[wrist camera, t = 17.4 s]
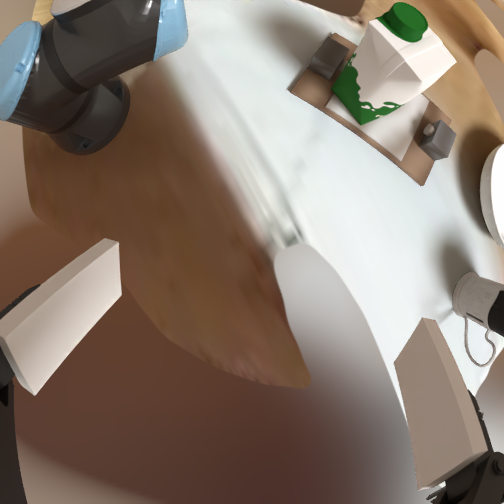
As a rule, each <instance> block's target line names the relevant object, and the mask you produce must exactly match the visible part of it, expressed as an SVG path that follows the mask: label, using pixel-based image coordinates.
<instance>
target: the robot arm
mask: <svg viewBox="0 0 504 504" xmlns="http://www.w3.org/2000/svg"><path fill="white" fill-rule="evenodd" d="M50 12H51V14H52V15H53V17H54V19H52V20H51V21H49V22H48V23H46V24H45V25H43V26H41V24H40V23H39V22H38V21H36V22H35V21H26V22H24V23H22V24H20V25H19V26H18V27H16V28H15V29H14V30H13V31H12V32H11V33H10V34H9V35H8V36H7V38H6V39H5V40H4V41H3V42H2V44H1V45H0V120H1V121H8V122H11V123H15V124H18V125H22V126H25V127H28V128H32V129H35V130H38V131H41V132H45V133H47V134H48V135H49V136H50V137H51V138H52V139H53V140H54V141H55V142H56V144H57V145H58V146H59V147H60V148H62V149H63V150H65V151H67V152H70V153H73V154H77V155H87V154H91V153H94V152H96V151H98V150H100V149H101V148H103V147H104V146H105V145H107V144H108V143H109V142H110V141H111V140H112V139H113V138H114V137H115V136H116V134H117V133H118V132H119V130H120V129H121V127H122V125H123V124H124V122H125V119H126V117H127V114H128V111H129V106H130V93H129V89H128V87H127V85H126V83H125V82H124V81H123V80H122V79H121V78H120V77H119V76H118V75H119V74H121V73H123V72H126V71H128V70H130V69H132V68H134V67H137V66H139V65H141V64H144V63H146V62H148V61H151V60H152V61H156V60H157V59H158V58H159V57H161V56H164V55H166V54H169V53H171V52H174V51H176V50H178V49H180V48H181V47H183V46H184V44H185V43H186V41H187V39H188V27H187V19H186V13H185V7H184V1H183V0H53V3H52V6H51V9H50ZM121 295H122V294H121V281H120V264H119V242H116V241H113V240H109V239H106V238H104V239H103V240H101V241H100V242H99V243H97V244H96V245H94V246H93V247H91V248H90V249H89V250H87V251H86V252H84V253H83V254H82V255H80V256H79V257H77V258H76V259H75V260H73V261H72V262H71V263H69V264H68V265H67V266H65V267H64V268H63V269H62V270H60V271H59V272H58V273H56V274H55V275H53V276H52V277H51V278H50V279H48V280H47V281H46V282H45V283H43V284H42V285H40V284H39V285H36V286H34V287H32V288H30V289H28V290H26V291H25V292H24V293H23V294H21V295H20V296H19V298H17V299H15V300H14V301H13V302H12V304H9V305H8V306H7V307H6V308H5V309H4V310H2V311H1V312H0V504H27V500H26V496H25V492H24V487H23V483H22V478H21V472H20V466H19V460H18V453H17V444H16V435H15V420H14V385H13V381H12V378H13V377H14V376H15V375H16V377H17V379H18V381H19V382H20V384H21V385H22V386H23V387H24V388H26V389H27V390H28V391H30V392H31V393H32V394H34V395H36V394H37V393H38V391H39V390H40V389H41V387H42V386H43V385H44V384H45V382H46V381H47V380H48V379H49V377H50V376H51V375H52V374H53V372H54V371H55V370H56V369H57V368H58V366H59V365H60V364H61V363H62V362H63V360H64V359H65V358H66V357H67V356H68V354H69V353H70V352H71V351H72V350H73V349H74V347H75V346H76V345H77V344H78V343H79V342H80V340H81V339H82V338H83V337H84V336H85V335H86V333H87V332H88V331H89V330H90V329H91V328H92V327H93V326H94V325H95V323H96V322H97V321H98V320H99V319H100V318H101V317H102V316H103V315H104V313H105V312H106V311H107V310H108V309H109V308H110V307H111V306H112V305H113V303H114V302H116V300H117V299H118V298H119V297H120V296H121ZM394 366H395V370H396V373H397V377H398V381H399V385H400V390H401V394H402V398H403V403H404V407H405V412H406V417H407V422H408V427H409V432H410V438H411V443H412V449H413V455H414V463H415V470H416V478H417V487H418V490H422V489H428V488H433V487H435V486H437V485H439V484H440V483H442V482H444V481H445V483H446V486H445V487H443V488H441V489H440V490H438V491H436V492H434V493H432V494H431V495H429V496H428V497H427V498H426V499H427V500H429V499H431V498H433V497H435V496H437V497H436V498H435V499H433V500H432V501H431V503H433V504H502V503H503V502H504V454H502V453H500V452H494V451H493V448H492V445H491V442H490V438H489V435H488V432H487V429H486V426H485V423H484V421H483V420H482V419H483V417H482V414H481V412H479V411H480V409H479V407H478V404H477V401H476V399H475V397H474V396H473V395H472V393H471V392H470V391H469V390H467V387H466V385H465V383H464V380H463V378H462V375H461V373H460V371H459V368H458V366H457V364H456V362H455V360H454V357H453V355H452V353H451V351H450V349H449V347H448V345H447V343H446V340H445V338H444V336H443V334H442V332H441V330H440V328H439V327H438V325H437V323H436V321H435V320H432V319H427V318H422V319H421V320H420V322H419V324H418V326H417V327H416V329H415V331H414V332H413V334H412V335H411V337H410V339H409V340H408V342H407V343H406V345H405V346H404V348H403V350H402V351H401V353H400V354H399V356H398V357H397V359H396V360H395V361H394Z"/></svg>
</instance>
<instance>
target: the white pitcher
mask: <svg viewBox="0 0 504 504" xmlns="http://www.w3.org/2000/svg"><path fill="white" fill-rule="evenodd" d="M452 305H453V309H454V312H455V313H456V314H457V315H458V316H461V317H463V318H465V348H466V352H467V354H468V356H469V358H470V359H471V361H472V362H473V363H474V364H476V365H477V366H479V367H486V366H487V365H489V364H490V363H491V362H492V361H493V359H494V357H495V354H496V348H495V345H494V343H493V342H492V341H490V340H489V339H488V334H489V332H490V331H492V332H496V333H498V334H500V335H501V336H503V337H504V285H503V284H500V283H497V282H494V281H491V280H488V279H485V278H482V277H480V276H479V275H478V274H477V273H475V272H468V273H466V274H465V275H463V276H462V277H461V278H460V280H459V281H458V283H457V284H456V287H455V289H454V292H453V298H452ZM466 317H467V318H469V319H471V320H472V321H474V322H476V323H478V324H480V325H481V326H483V327H485V328H487V329H488V330H487V331H486V334H485V339H486V340H487V341H488V342H489V343H490V344H491V345H492V347H493V354H492V357H491V358H490V360H489V361H488V362H487V363H485V364H483V365H480V364H478V363H477V362H476V361H475V360H474V359H473V358H472V356H471V355H470V352H469V349H468V342H467V333H468V320H467V318H466Z"/></svg>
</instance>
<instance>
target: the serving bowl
mask: <svg viewBox="0 0 504 504" xmlns="http://www.w3.org/2000/svg"><path fill="white" fill-rule="evenodd" d="M480 199H481V207H482V212H483V216H484V219H485V222H486V225H487V228H488V230H489V232H490V234H491V235H492V237H493V238H494V240H495V241H496V242H497V244H498V245H499V246H500V247H502V248H503V249H504V143H503V144H501V145H499V146H498V147H496V148H495V149H494V150H493V151H492V152H491V153H490V154H489V156H488V157H487V159H486V161H485V164H484V166H483V170H482V174H481V182H480Z"/></svg>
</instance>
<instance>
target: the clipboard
mask: <svg viewBox="0 0 504 504" xmlns="http://www.w3.org/2000/svg"><path fill="white" fill-rule="evenodd" d="M357 47H358V46H357V45H355V44H354V43H352V42H350V41H349V40H347V39H345V38H344V37H342V36H340V35H338V34H337V33H334V34H333V35H332V37H331V38H330V37H328V38H327V39H326V41H325V42H324V43H323V45H322V46H321V47H320V48H319V50H318V51H317V52H316V54H315V55H314V56H313V59H312V61H311V64H310V65H309V67H308V68H307V69H306V71H305V72H304V74H303V75H302V76H301V78H300V79H299V80H298V82H297V83H296V85H295V86H294V87H293V89H292V90H291V93H292V94H294V95H296V96H297V97H299V98H301V99H302V100H304V101H306V102H307V103H309V104H311V105H312V106H314V107H316V108H317V109H319V110H320V111H322V112H324V113H325V114H327V115H328V116H330V117H331V118H333V119H334V120H336V121H337V122H339V123H340V124H342V125H343V126H345V127H346V128H348V129H349V130H351V131H352V132H354V133H355V134H356V135H358V136H359V137H361V138H362V139H363V140H365V141H366V142H367V143H369V144H370V145H371V146H373V147H374V148H375V149H377V150H378V151H379V152H381V153H382V154H383V155H384V156H386V157H387V158H388V159H389V160H391V161H392V162H393V163H394V164H396V165H397V166H398V167H399V168H400V169H402V170H403V171H404V172H405V173H406V174H407V175H409V176H410V177H411V178H412V179H413V180H414V181H416V182H417V183H418V184H419V185H420V186H424V184H425V182H426V180H427V177H428V175H429V173H430V171H431V169H432V166H433V164H434V162H435V160H439V159H443V158H447V157H448V155H449V153H450V150H451V147H452V145H453V142H454V140H455V137H456V133H455V132H454V131H453V130H452V129H451V128H450V127H449V125H450V123H451V119H450V118H449V117H448V116H447V115H446V114H445V113H444V112H443V111H441V110H440V109H439V108H438V107H437V106H436V105H435V104H434V103H433V102H432V101H431V100H429V99H428V98H427V97H426V96H425V95H424V94H423V93H420V94H419V95H417V96H416V97H414V98H413V99H412V100H410V101H409V102H407V103H406V104H404V105H403V106H401V107H400V108H398V109H397V110H395V111H393V112H391V113H390V114H388V115H386V116H384V117H381V118H379V119H376V120H373V121H371V122H368V123H366V124H364V125H361V126H360V124H359V123H358V122H357V120H356V119H355V118H354V117H353V115H352V114H351V113H350V112H349V110H348V109H347V108H346V107H345V105H344V104H343V103H342V102H341V101H340V99H339V98H338V97H337V96H336V95H335V93H334V92H333V91H332V90H331V88H332V86H333V85H334V83H335V82H336V80H337V78H338V77H339V75H340V73H341V72H342V70H343V69H344V67H345V65H346V64H347V62H348V61H349V59H350V58H351V56H352V54H353V53H354V51H355V50H356V48H357Z"/></svg>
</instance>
